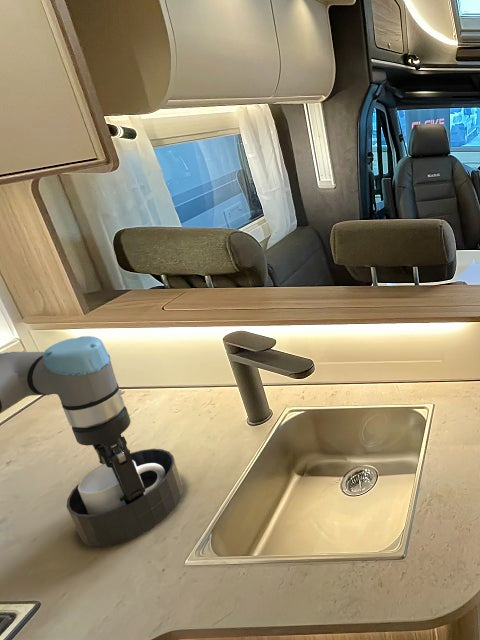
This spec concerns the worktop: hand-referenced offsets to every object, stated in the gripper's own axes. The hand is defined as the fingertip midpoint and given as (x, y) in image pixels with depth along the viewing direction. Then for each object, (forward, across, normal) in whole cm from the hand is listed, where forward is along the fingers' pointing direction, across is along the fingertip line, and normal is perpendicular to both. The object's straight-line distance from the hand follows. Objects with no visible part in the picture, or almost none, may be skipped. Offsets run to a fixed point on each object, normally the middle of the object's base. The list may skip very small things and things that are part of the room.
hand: (132, 503), depth 85 cm
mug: (+1, 0, 0) cm, 1 cm away
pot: (+1, 0, 0) cm, 1 cm away
